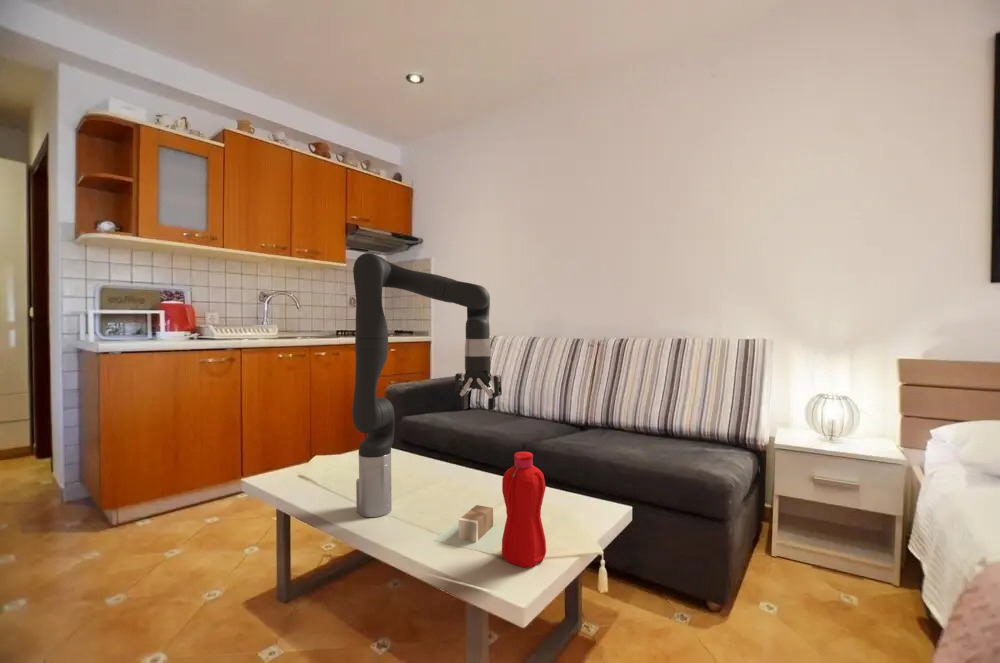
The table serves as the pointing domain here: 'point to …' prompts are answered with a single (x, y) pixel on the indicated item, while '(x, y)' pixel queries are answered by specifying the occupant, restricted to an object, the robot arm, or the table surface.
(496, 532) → the sage mat
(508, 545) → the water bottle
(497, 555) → the table surface
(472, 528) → the walnut block
